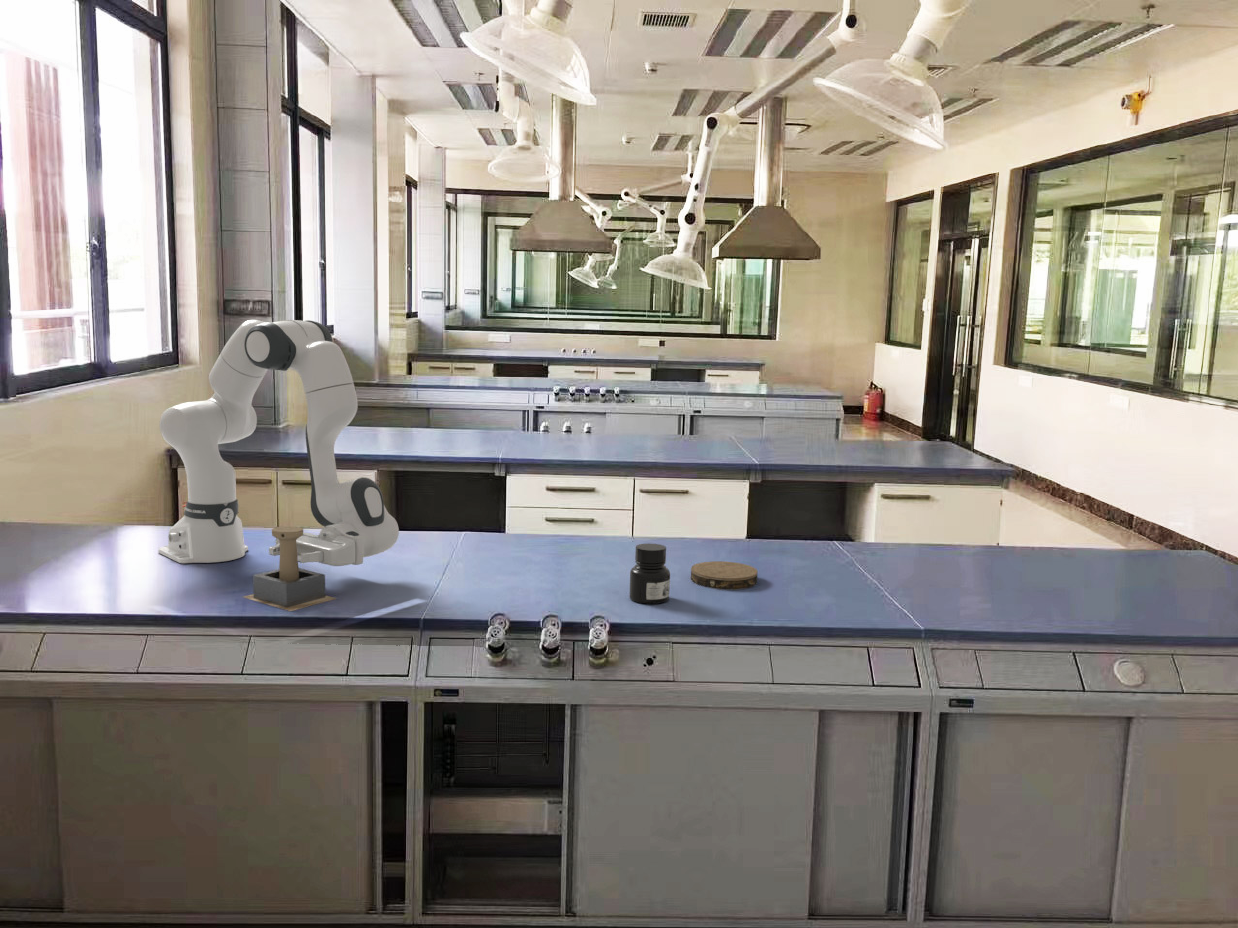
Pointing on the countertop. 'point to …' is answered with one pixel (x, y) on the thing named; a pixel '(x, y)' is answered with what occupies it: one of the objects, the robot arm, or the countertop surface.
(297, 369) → the robot arm
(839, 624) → the countertop surface
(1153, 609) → the countertop surface
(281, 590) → the square frame
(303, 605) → the base board
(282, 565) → the handle
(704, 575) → the brown round disc
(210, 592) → the countertop surface
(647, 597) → the ink bottle
